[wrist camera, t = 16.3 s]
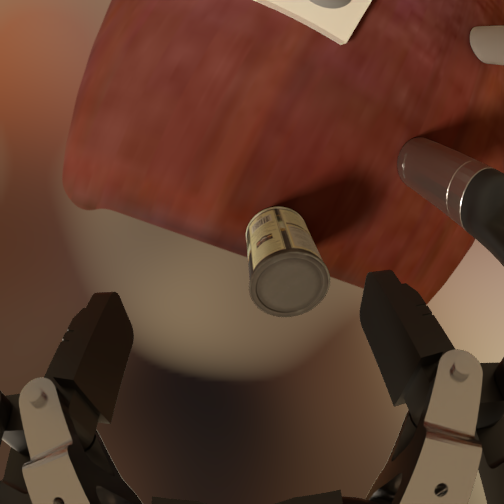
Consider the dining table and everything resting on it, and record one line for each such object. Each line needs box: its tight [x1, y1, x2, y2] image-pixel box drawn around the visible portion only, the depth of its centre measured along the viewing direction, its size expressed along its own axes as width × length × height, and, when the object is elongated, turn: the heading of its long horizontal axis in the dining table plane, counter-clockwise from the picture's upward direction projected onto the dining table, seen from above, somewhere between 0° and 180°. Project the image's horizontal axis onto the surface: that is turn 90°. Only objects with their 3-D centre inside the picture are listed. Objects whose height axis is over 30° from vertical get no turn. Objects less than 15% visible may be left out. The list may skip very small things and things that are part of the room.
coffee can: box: [246, 207, 330, 317], centre depth 43 cm, size 10×10×14 cm
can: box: [470, 26, 504, 65], centre depth 25 cm, size 8×8×12 cm
